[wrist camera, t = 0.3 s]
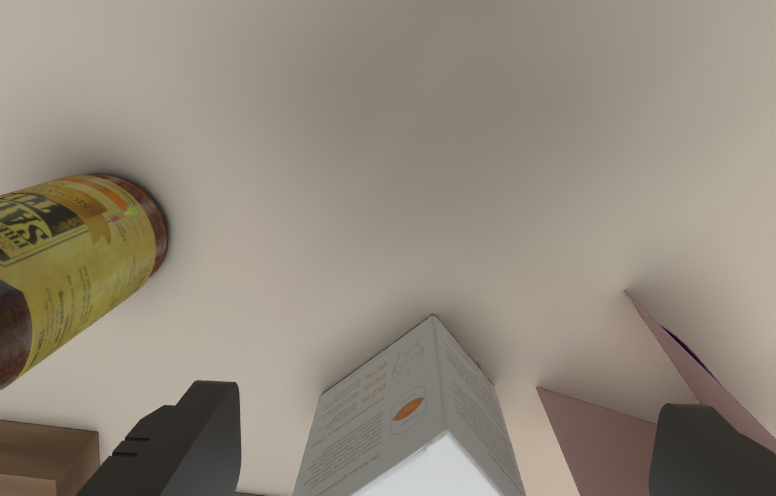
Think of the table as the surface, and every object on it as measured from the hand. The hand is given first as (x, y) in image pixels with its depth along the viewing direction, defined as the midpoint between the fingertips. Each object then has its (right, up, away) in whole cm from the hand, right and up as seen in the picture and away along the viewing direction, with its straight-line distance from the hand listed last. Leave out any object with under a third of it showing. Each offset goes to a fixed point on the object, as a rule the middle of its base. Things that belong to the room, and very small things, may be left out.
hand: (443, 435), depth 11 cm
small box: (0, -4, +20) cm, 20 cm away
